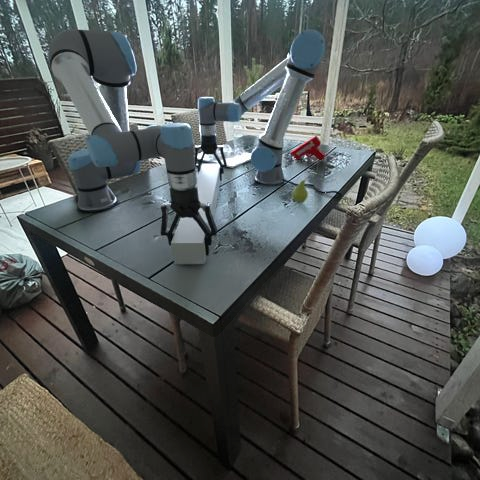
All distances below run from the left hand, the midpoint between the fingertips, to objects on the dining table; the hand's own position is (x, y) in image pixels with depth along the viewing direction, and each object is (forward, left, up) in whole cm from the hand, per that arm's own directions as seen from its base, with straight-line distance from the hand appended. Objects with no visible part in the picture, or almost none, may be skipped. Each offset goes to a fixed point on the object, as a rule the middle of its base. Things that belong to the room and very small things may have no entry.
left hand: (191, 253), depth 85 cm
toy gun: (-28, +118, -2) cm, 121 cm away
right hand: (-43, +48, 0) cm, 65 cm away
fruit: (+3, +59, -2) cm, 59 cm away
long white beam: (-22, +24, -1) cm, 32 cm away
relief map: (-72, +86, -2) cm, 112 cm away
